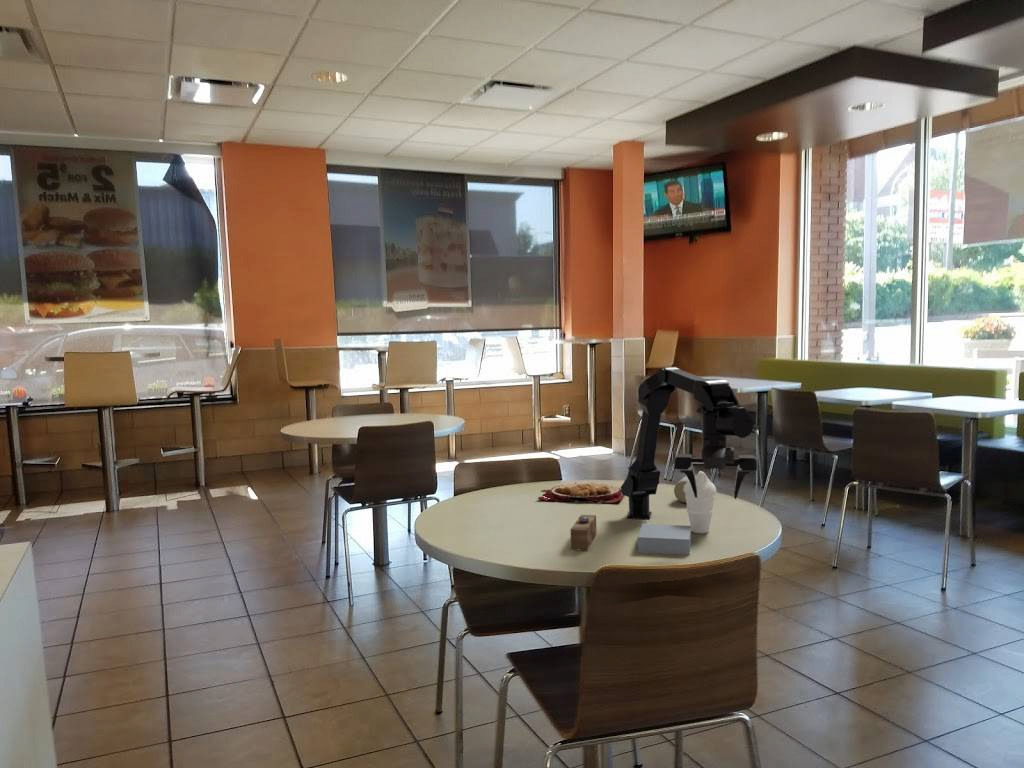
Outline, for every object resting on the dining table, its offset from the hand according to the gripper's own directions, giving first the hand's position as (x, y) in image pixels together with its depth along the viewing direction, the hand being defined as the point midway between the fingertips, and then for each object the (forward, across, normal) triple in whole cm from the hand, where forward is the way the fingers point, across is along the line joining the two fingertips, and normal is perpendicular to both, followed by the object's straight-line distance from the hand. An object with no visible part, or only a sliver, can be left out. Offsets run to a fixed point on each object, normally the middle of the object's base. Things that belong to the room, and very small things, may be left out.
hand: (715, 498), depth 173 cm
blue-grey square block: (+13, -12, 0) cm, 18 cm away
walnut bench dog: (+12, -32, 0) cm, 34 cm away
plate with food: (+13, -42, +52) cm, 68 cm away
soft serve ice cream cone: (+12, -4, +14) cm, 19 cm away
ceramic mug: (+12, -7, +47) cm, 49 cm away
